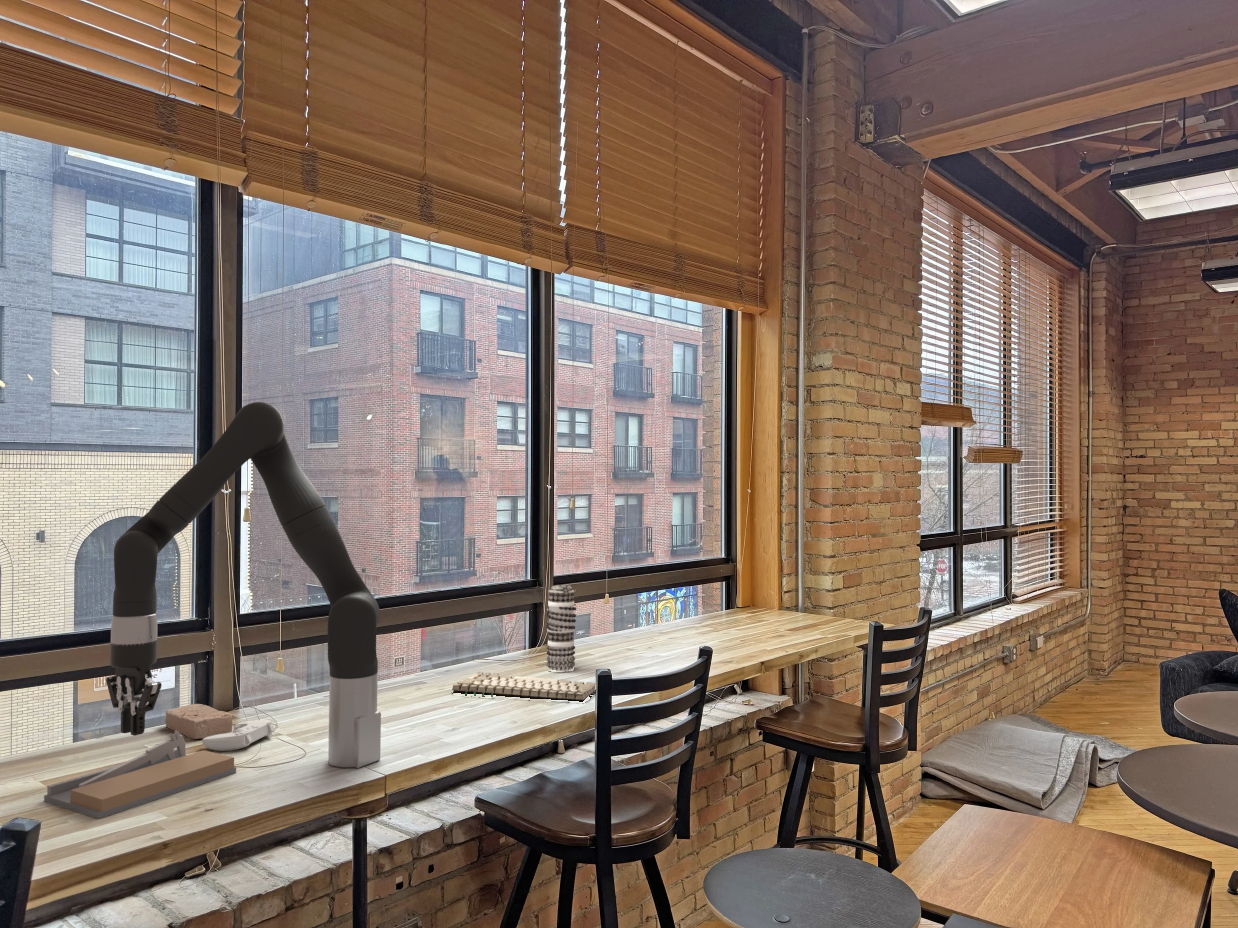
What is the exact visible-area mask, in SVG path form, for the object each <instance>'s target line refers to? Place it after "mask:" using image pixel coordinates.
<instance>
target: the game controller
mask: <svg viewBox="0 0 1238 928" xmlns="http://www.w3.org/2000/svg"><path fill="white" fill-rule="evenodd" d="M275 731H276V729H275V726H274V725H273V722H272V720H266V719H265V720H261V719H260V720H248V721H242V722H239V723H236V724H234V725H233V729H232V732H230V733H225V734H218V735H213V736H209V737H206V738H202V745H203V746H204V747H205V748H206V749H209V750H212V751H214V752H215V751H217V752H228V751H229V752H230V751H231V752H233V751H236V750H240V749H242V748H246V747H248V746H250V744H253V743H255V742H256V741H258V740H260V739H263V738H265V737H268V736H271V735H272V734H273V733H274V732H275Z"/></svg>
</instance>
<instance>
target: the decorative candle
mask: <svg viewBox="0 0 1238 928" xmlns="http://www.w3.org/2000/svg"><path fill="white" fill-rule="evenodd" d="M547 592H548V601H547V603H548V604H547V608H545V610H546V614H545V616H546V617H547V620H546V624H547V625H546V631H547V632H548V634H547V636H548V640H547V646H546V650H547V651H546V655H548V656H547V657H546V658H545V659H546V667H548V668H549V669H551V670H556V671H569V670H571V669H573V667H574V668H575V666H576V662H575V661H576V657H575V656H574V655H575V654H576V652H575V651H576V650H575V649H576V646H575V639H574V637H575V635H574V634H575V631H576V626H575V625H574V623H576V622H577V619H575V618H576V617H577V614H576V613H574V612H576V610H577V607H576V606H577V604H576V603H575V590H574V589H573V588H572V586H571V585H567V584H556V585H552V586H551V588H550V589H549V590H548V591H547Z"/></svg>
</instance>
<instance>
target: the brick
mask: <svg viewBox="0 0 1238 928" xmlns="http://www.w3.org/2000/svg"><path fill="white" fill-rule="evenodd" d="M164 719H165V720H164V722H165V728H166V727H168V728H170V729H171V730H170V729H169V730H170V731H174V732H175V730H177V731H179V733H180V735H182V734H183V736H184V735H185V736H184V737H186V736H187V737H186V738H189V737H190V738H189V739H194V740H199V739H204V738H206V737H209V736H213V735H218V734H225V733H230V732H233V724H234V723H233V715H232V713H230V712H227V711H223V710H218V709H216V708H213V707H211V706H210V705H206V704H201V703H195V704H188V705H187V704H186V705H184V706H180V707H176V708H171V709H167V710H166V711H165V718H164ZM168 728H167V729H168Z"/></svg>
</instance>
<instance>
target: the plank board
mask: <svg viewBox="0 0 1238 928" xmlns="http://www.w3.org/2000/svg"><path fill="white" fill-rule="evenodd" d="M174 753H175V757H176V759H173V760H168V758H167V756H166V755H164V757H163V758H162V759H161V760H159V761H156V762H155V763H153V764H150V763H148V762H146V763H144V764H142V765H140V766H138V767H136V768H134V769H132V770H130V771H128V772H126V773H124V774H121V775H119V776H116V777H113V778H109V779H106V780H102V781H99V782H96V783H92V784H89V785H86V786H82V787H79V784H81V783H83V782H85V781H87V780H89V779H91V778H93V777H95V776H98V775H100V774H102V773H104V772H106V771H108V770H110V769H112V768H114V767H116V766H119V765H120V764H118V765H115V766H111V767H108V768H104V769H101V770H98V771H94V772H92V773H87V774H83V775H80V776H77V777H74V778H73V777H72V778H70V779H67V780H63V781H60V782H55V783H52V784H50V785H47V787H46V788H47V789H46V790H47V793H46V794H44V795H43V801H44V802H45V803H48V804H52V805H54V806H57V807H60V808H64V809H65V810H66V809H67V810H70V811H73V812H76V813H79V814H82V815H85V816H88V817H92V818H94V819H98V820H99V819H103V818H106V817H109V816H112V815H115V814H118V813H121V812H123V811H126V810H129V809H133V808H136V807H138V806H142V805H145V804H147V803H150V802H153V801H156V800H159V799H162V798H165V797H169V796H171V795H173V794H177V793H180V792H183V791H185V790H189V789H191V788H194V787H197V786H202V785H203V784H206V783H210V782H212V781H216V780H218V779H222V778H224V777H228V776H230V775H233V774H236V773H237V767H236V766H235V757H233V756H229V755H226V754H222V753H217V752H213V751H208V750H204V749H203V750H199V751H197V752H192V753H189V754H187V755H186V754H185V756H183V757H179V755H178V752H177V748H175V749H174Z"/></svg>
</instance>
